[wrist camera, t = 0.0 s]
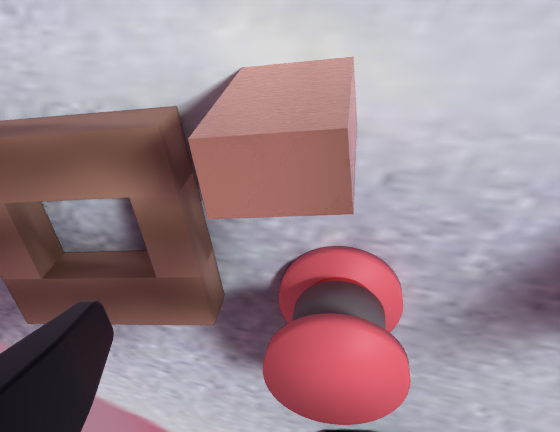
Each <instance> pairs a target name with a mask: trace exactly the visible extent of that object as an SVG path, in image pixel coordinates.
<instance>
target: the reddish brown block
mask: <svg viewBox="0 0 560 432" xmlns="http://www.w3.org/2000/svg"><path fill="white" fill-rule="evenodd" d="M356 137H357V111H356V92H355V74H354V57H346V58H336V59H325V60H315V61H305V62H294V63H284V64H274V65H264V66H253V67H243V68H241V69H240V71H239V72H238V73H237V75H236V76H235V77H234V79H233V80H232V81H231V83H230V84H229V85H228V87H227V88H226V89H225V91H224V92H223V93H222V95H221V96H220V97H219V98H218V100H217V101H216V102H215V104H214V105H213V106H212V108H211V109H210V110H209V112H208V113H207V114H206V116H205V117H204V118H203V120H202V121H201V122H200V124H199V125H198V126H197V128H196V129H195V130H194V132H193V133H192V134H191V136H190V137H189V138H188V141H189V146H190V150H191V154H192V158H193V162H194V166H195V170H196V174H197V178H198V182H199V186H200V190H201V194H202V198H203V202H204V206H205V210H206V214H207V218H208V219H226V218H255V217H283V216H312V215H341V214H353V211H354V186H355V162H356Z"/></svg>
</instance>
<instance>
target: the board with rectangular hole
mask: <svg viewBox="0 0 560 432" xmlns="http://www.w3.org/2000/svg"><path fill="white" fill-rule="evenodd" d="M127 197H129V198H130V201H131V204H132V207H133V210H134V213H135V216H136V219H137V222H138V224H139V227H140V230H141V233H142V236H143V239H144V242H145V245H146V248H147V251H110V252H67V253H64V251H63V249H62V247H61V245H60V242H59V240H58V238H57V236H56V233H55V231H54V229H53V227H52V225H51V222H50V220H49V218H48V216H47V214H46V211H45V209H44V207H43V205H42V202H41V201H62V200H84V199H105V198H127ZM0 275H1V277H2V278H3V280H4V282H5V284H6V286H7V288H8V289H9V291H10V293H11V295H12V297H13V298H14V300H15V302H16V304H17V306H18V307H19V309H20V311H21V313H22V315H23V317H24V318H25V320H26V322H27V324H46V323H48V322H49V321H51V320H52V319H54V318H55V317H57V316H58V315H60V314H61V313H63V312H64V311H66V310H67V309H69V308H70V307H72V306H73V305H75V304H76V303H78V302H80V301H100V302H101V303H102V304H103V306H104V308H105V311H106V313H107V315H108V318H109V320H110V323H111V324H126V325H214V324H215V321H216V318H217V316H218V313H219V310H220V307H221V304H222V302H223V299H224V296H225V295H224V291H223V287H222V283H221V279H220V275H219V271H218V267H217V263H216V259H215V255H214V252H213V248H212V244H211V240H210V236H209V232H208V228H207V224H206V220H205V216H204V212H203V208H202V204H201V200H200V196H199V192H198V188H197V184H196V180H195V176H194V172H193V168H192V165H191V161H190V157H189V153H188V149H187V145H186V141H185V137H184V133H183V129H182V125H181V121H180V117H179V113H178V109H177V106H172V107H160V108H148V109H136V110H124V111H112V112H100V113H88V114H77V115H65V116H53V117H41V118H29V119H17V120H5V121H0Z"/></svg>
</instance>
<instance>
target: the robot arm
mask: <svg viewBox="0 0 560 432" xmlns="http://www.w3.org/2000/svg"><path fill="white" fill-rule="evenodd" d="M113 336H114V332H113V327H112V325H111V323H110V320H109V318H108V315H107V313H106V311H105V308H104V306H103V304H102V303H101V302H100V301H80V302H78V303H76V304H75V305H73V306H72V307H70V308H69V309H67V310H66V311H64V312H63V313H61V314H60V315H58V316H57V317H55V318H54V319H52V320H51V321H49V322H48V323H46V324H45V325H43V326H42V327H40V328H38V329H37V330H35V331H34V332H32V333H31V334H29V335H28V336H26V337H25V338H23V339H22V340H20V341H19V342H17V343H16V344H14V345H13V346H11V347H10V348H8V349H7V350H5V351H4V352H2V353H1V354H0V432H81V430H82V428H83V425H84V423H85V421H86V418H87V416H88V414H89V411H90V409H91V406H92V403H93V401H94V398H95V395H96V392H97V389H98V385H99V382H100V379H101V376H102V373H103V370H104V367H105V363H106V360H107V357H108V354H109V351H110V348H111V344H112V341H113ZM327 432H328V431H327Z"/></svg>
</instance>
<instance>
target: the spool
mask: <svg viewBox="0 0 560 432" xmlns="http://www.w3.org/2000/svg"><path fill="white" fill-rule="evenodd" d="M279 306H280V310H281V312H282V315H283V317H284V318H285V320H286V321H287V323H288V324H286V325H285V326H283V327H282V328H281V329H279V330H278V331H277V332H276V333H275V334H274V336H273V337H272V338H271V340H270V342H269V344H268V346H267V350H266V354H265V359H264V363H263V376H264V380H265V383H266V385H267V387H268V389H269V391H270V392H271V393H272V395H273V396H274V397H275V398H276V399H277V400H278V401H279V402H280V403H281V404H282V405H284V406H285V407H287V408H288V409H290V410H291V411H293V412H295V413H297V414H299V415H301V416H303V417H306V418H309V419H311V420H315V421H319V422H323V423H329V424H338V425H352V424H361V423H367V422H370V421H374V420H377V419H380V418H382V417H384V416H386V415H388V414H390V413H391V412H393V411H394V410H395V409H397V408H398V407H399V406H400V405H401V404H402V402H403V401H404V400H405V398H406V396H407V394H408V392H409V388H410V372H409V361H408V358H407V354H406V352H405V350H404V348H403V347H402V345H401V344H400V343H399V341H398V340H397V339H396V338H395V337H394V336H393V335H392V334H390V332H391V331H392V330H393V329H394V328H395V326H396V325H397V323H398V322H399V320H400V317H401V314H402V311H403V299H402V289H401V285H400V282H399V280H398V277H397V276H396V274H395V273H394V271H393V270H392V269H391V268H390V267H389V265H387V264H386V263H385V262H384V261H383V260H381V259H380V258H378V257H377V256H375V255H373V254H371V253H369V252H366V251H363V250H360V249H356V248H352V247H344V246H332V247H324V248H319V249H316V250H312V251H310V252H308V253H305V254H304V255H302V256H300V257H299V258H297V259H296V260H295V261H294V262H293V263H292V264H291V265H290V266H289V267H288V268H287V270H286V271H285V273H284V276H283V278H282V282H281V286H280V290H279Z"/></svg>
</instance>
